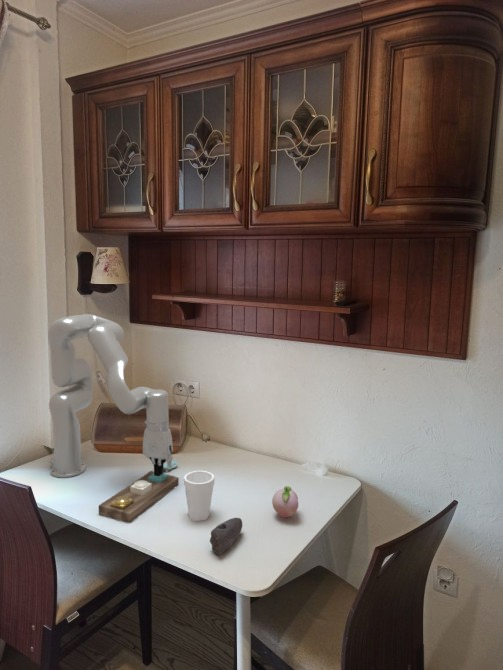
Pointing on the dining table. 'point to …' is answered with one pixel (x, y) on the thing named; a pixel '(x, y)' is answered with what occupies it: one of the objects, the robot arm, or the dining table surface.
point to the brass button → (122, 502)
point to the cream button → (141, 487)
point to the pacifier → (170, 465)
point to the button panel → (138, 499)
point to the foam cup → (199, 494)
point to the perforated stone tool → (225, 534)
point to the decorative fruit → (285, 502)
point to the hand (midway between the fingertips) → (158, 474)
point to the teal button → (158, 478)
